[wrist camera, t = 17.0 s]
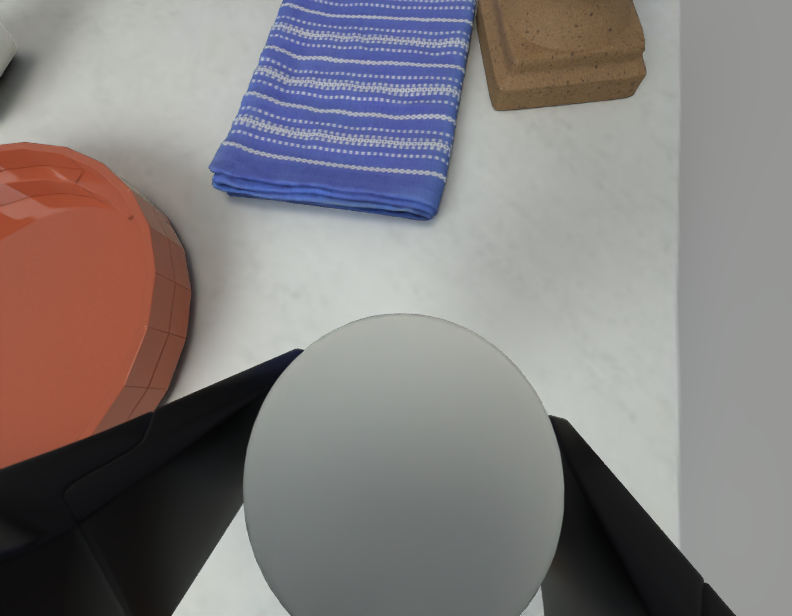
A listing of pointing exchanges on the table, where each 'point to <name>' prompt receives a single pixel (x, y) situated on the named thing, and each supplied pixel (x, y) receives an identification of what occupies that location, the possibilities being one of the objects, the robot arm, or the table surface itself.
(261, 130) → the dish towel
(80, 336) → the bowl
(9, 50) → the mug
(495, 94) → the candle holder
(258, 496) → the pill bottle
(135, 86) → the table surface
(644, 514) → the robot arm
